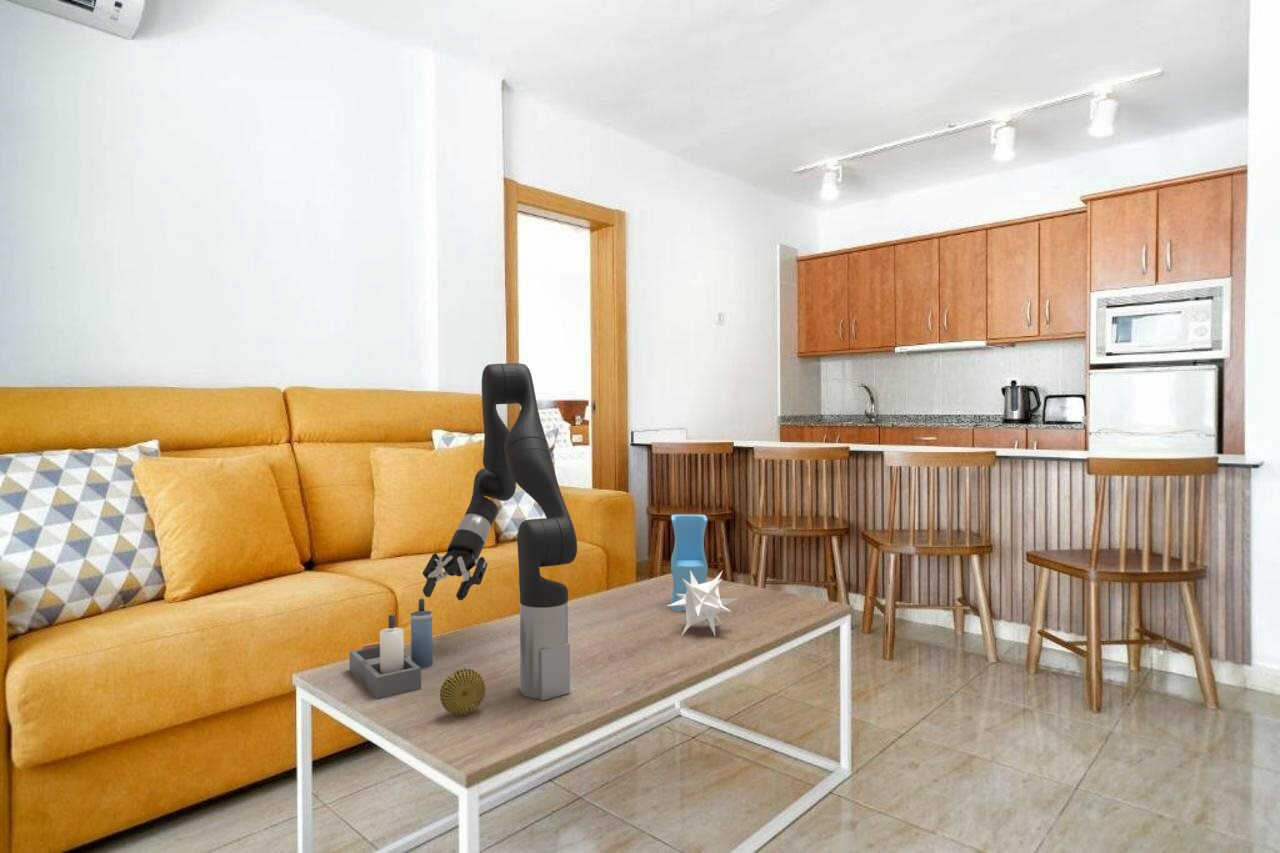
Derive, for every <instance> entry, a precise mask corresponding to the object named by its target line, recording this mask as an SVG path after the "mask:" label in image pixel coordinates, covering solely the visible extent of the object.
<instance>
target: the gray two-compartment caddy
mask: <svg viewBox="0 0 1280 853" xmlns="http://www.w3.org/2000/svg"><path fill="white" fill-rule="evenodd" d="M387 619H388V627H387V628H383V629H381V630H380V631H379V641H376V642H371V643H365V644H362V648H358V649H353V650H349V671H350V672H351V673H352V674H353V675H354V676H355V678H356V679H358V681H359V682H361V684H362V685H363V686H364V687H365V688H366V689H367V690H368V691H369V692H370V693H371V694H372V695H373V697H374V698H375V699H376V700H379V699H381V698H386V697H391V696H395V695H398V694H404V693H407V692H412V691H417V690H421V689H422V668H420V667H419V666H418V665H417V664H415V663H414V662H413V661H412V660H411V658H409V657H408V656H407V655H405V653H404V652H405V651H404V650H405V646H404V644H405V643H404V641H405V640H404V638H405V637H404V635H405V634H404V631H405V630H404V628H403V627H396V615H395V614H393V613H391V614H390V615H388V617H387Z"/></svg>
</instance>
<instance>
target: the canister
mask: <svg viewBox="0 0 1280 853" xmlns="http://www.w3.org/2000/svg"><path fill="white" fill-rule="evenodd" d="M433 643H434V642H433V611H432V610H425V599H424V598H419V599H418V610H417V611H413V612H411V613H410V660H412V661H413V662H414V663H415V664H417V665H418V666H419V667H420V668H421V669H426V668H429V667H431V666H432V665H433V660H434V659H433V645H434V644H433Z"/></svg>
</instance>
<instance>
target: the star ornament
mask: <svg viewBox="0 0 1280 853" xmlns="http://www.w3.org/2000/svg"><path fill="white" fill-rule="evenodd" d="M723 570H724V569H723ZM723 570H722V571H721V572H719V574H717V576H716V577H715V578H714V579H713V580H711V581H707V582H706V581H705V583H702V584H698V583H697V581H696V579H695V577H694V576H693V574H692V572H691V570H690V575H691V584H690V583H688V582H687V581H685V580H684V579H683V581H684V583H685V585H686V587H687V592H686V594H676V595H678V596H679V597H681V598H682V599H681V600H679V601H677V602H674V603H672V604H671V603H670V604H668V605H667V607H671V606H685V610H686V611H685V616H686V620H685V622H684V624H683V626H684V629H683V631H682V634H681V637H682V636H683V635H684V634H685V633H686V631H688V629H689V628H690V627H691V626H693V625H694V626H695V625H696V624H700V623H702V622H703V623H704V622H707V624H708V626H709V628H710V629H711V632H712V633H713V635H714V636H716V627H715V622H716V623H718V624H719V625H722V623H721V620H720V619H719V617H718V616H719V615H718V614H719V613H721V612H729V613H733V612H732V611H731V610H730V609H729V608H727V607H726V606H725V605H728V604H730V603H732V602H735V601H736V600H738V598H721V597H720V590H719V585H720V583H721V581H722V580H723V578H721V576H722V573H723Z"/></svg>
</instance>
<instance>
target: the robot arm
mask: <svg viewBox="0 0 1280 853" xmlns="http://www.w3.org/2000/svg"><path fill="white" fill-rule="evenodd" d="M481 403H482V405H481V406H482V421H483V434H484V439H483V440H484V441H483V453H482V456H483V457H482V465H483V468H481V469H480V470H478V471H477V472H476V474H475V476H474V480H473V489H472V496H471V500H470V502H469V505H468V507H467V510H466V512H465V514H464V515H463V517H462V519H461V520H460V522H459V523H458V526H457V527H456V530H455V532H454V533H453V536H452V537H451V540H450V542H449V543H448V546H447V550H446V551H447V552H446V554H444V555H443V556H441V555H438V553H433V554H432V555H431V557H430V559H429V560H428V562H427V564H426V566H425V568H424V569H423V571H422V573H421V574H422V575H423V577H424V578H425V579H426V582H425V585H424V586H423V588H422V592H423V596H425V597H426V598H431V597H432V594H433V592H434V589H435V588H436V586H437V583H438V582H439V581H441V580H442V579H445V578H447V577H448V576H449V577H451V576H452V577H453V576H457V577H462V576H463V577H462V578H463V581H461V583H460V585H459V588H458V590H457V592H456V595H455V596H456V598H457V599H458V601H463V600H464V599H465V598H466V597H467V596H468V594H469V592H470V589H471V587H473V586H474V585H477V586H480V585H481V584H482V581H483V578H484V575H485V573H486V571H487V567H488V564H489V563H488V562H487V560H486V559H485V558H484V556H481V553H482V551H483V548H484V546H485V544H486V542H487V540H488V537H489V535H490V531H491V529H492V526H493V523H494V522H495V519H496V518H497V514H498V509H499V508H498V506H497V504H496V503H495V502H494V501H492V499H494V500H498V501H501V502H507V501H509V500H511V499H512V498H513V497H514V495H515V493H516V489H517V486H519V487H520V488H521V489H522V490H523V491H524V492H525V493H526V494H527V495H528V497H529V496H530V498H531V499H532V500H533V501H535V503H536V504H538V506H539V508H541V510H542V511H543V514H544V516H545V518H531V519H524V520H522V521H521V523H520V524H519V526H518V531H517V537H516V538H517V539H516V540H517V541H516V542H517V558H518V559H517V560H518V587H519V690H520V694H522V695H523V696H524V697H526V698H530V699H538V700H540V701H545V700H546V701H547V700H548V699H549V700H550V699H553V698H556V697H560V696H563V695H567V694H570V693H571V676H570V674H571V658H570V657H571V647H570V646H571V645H570V643H569V590H568V587H567V586H566V585H565V584H564V583H562V582H558V581H556V580H550V579H547V578H545V577H544V576H542V575H541V571H540V568H546V567H554V566H563V565H569V564H571V563H573V562H574V561H575V559H576V557H577V554H578V553H577V552H578V540H577V535H576V534H577V533H576V530H575V527H574V524H573V520H572V519H571V516H570V512H569V510H568V507H567V505H566V502H565V500H564V497H563V493H562V492H561V488H560V485H559V482H558V479H557V475H556V471H555V466H554V463H553V457H552V454H551V450H550V446H549V443H548V440H547V436H546V434H545V430H544V427H543V424H542V421H541V416H540V412H539V408H538V403H537V398H536V392H535V386H534V381H533V376H532V373H531V370H530V368H529V367H528V366H527V365H526V364H524V363H519V362H518V363H517V362H515V363H513V362H511V363H510V362H509V363H491V364H487V365H485V366H484V368H483V371H482V376H481ZM514 404H518V405H520V412H519V414H518V417H517V419H516V421H515V423H514V424H513V426H511V429H508V427H507V425H506V424H505V423H504V421H503V420H502V419H501V416H500V415H499V414H498V413H499V412H498V410H497V405H514ZM474 567H475V569H474V571H473V573H472V574H471V570H472V569H473V568H474ZM443 569H444V571H443Z"/></svg>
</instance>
